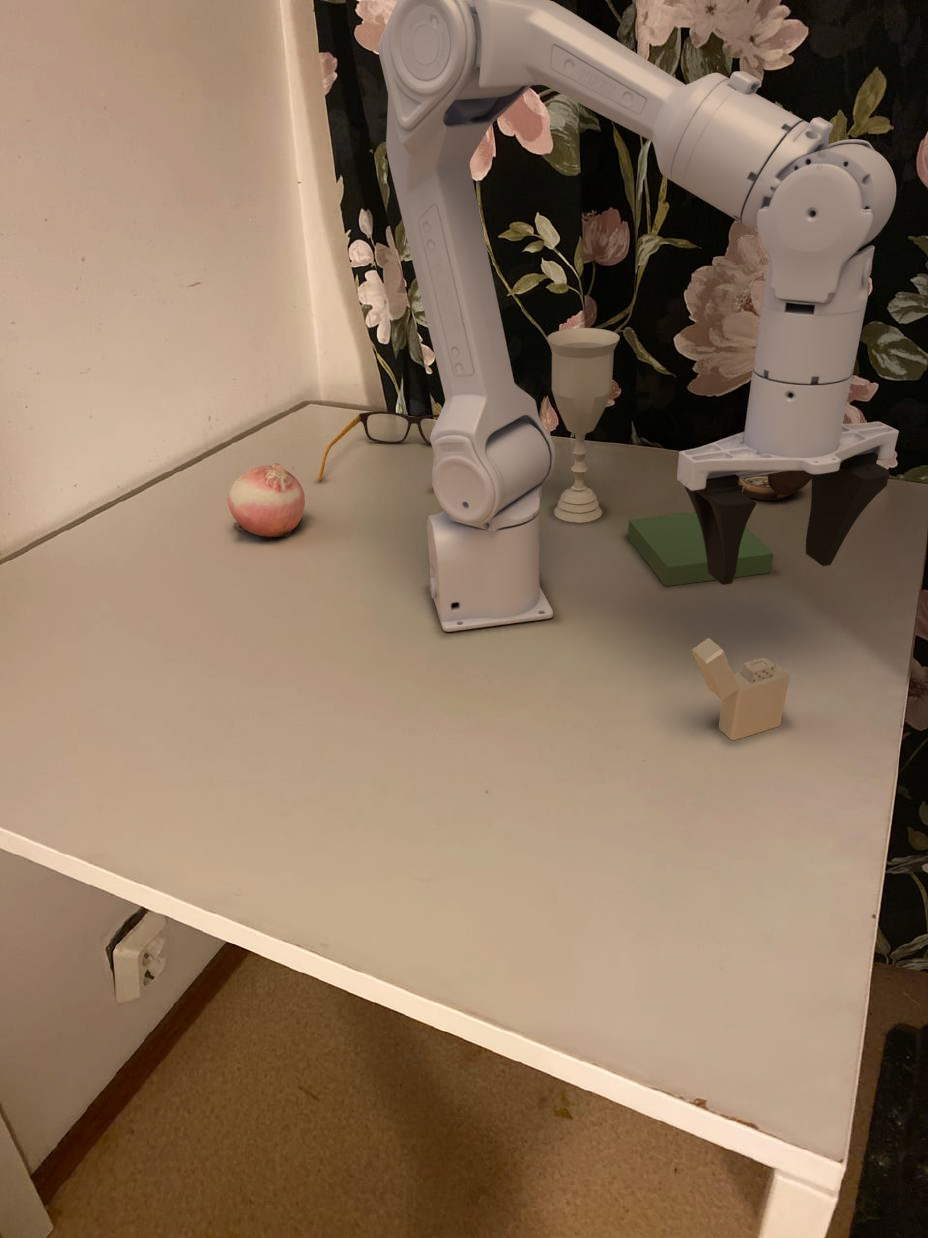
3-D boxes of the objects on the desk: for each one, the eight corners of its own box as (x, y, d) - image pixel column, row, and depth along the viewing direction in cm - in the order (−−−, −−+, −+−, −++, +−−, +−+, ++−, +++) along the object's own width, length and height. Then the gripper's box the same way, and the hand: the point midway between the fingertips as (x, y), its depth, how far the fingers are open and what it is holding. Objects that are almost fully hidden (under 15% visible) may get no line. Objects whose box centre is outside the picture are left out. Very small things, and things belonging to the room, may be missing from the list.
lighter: (766, 711, 62) (783, 615, 57) (782, 725, 60) (800, 628, 56) (680, 737, 60) (691, 640, 55) (694, 752, 58) (707, 654, 54)
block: (665, 586, 77) (667, 566, 76) (627, 537, 85) (628, 519, 84) (770, 572, 78) (773, 553, 77) (723, 526, 87) (725, 507, 86)
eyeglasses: (470, 446, 109) (469, 415, 107) (434, 491, 97) (432, 458, 95) (365, 439, 112) (362, 409, 110) (318, 482, 101) (313, 449, 99)
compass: (765, 474, 97) (774, 411, 93) (816, 500, 91) (829, 433, 87) (707, 489, 94) (714, 424, 91) (756, 516, 88) (766, 448, 84)
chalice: (614, 526, 88) (624, 346, 78) (547, 528, 88) (549, 349, 78) (606, 496, 94) (614, 326, 84) (543, 498, 94) (544, 329, 85)
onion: (282, 553, 86) (270, 486, 82) (217, 542, 88) (202, 477, 85) (322, 519, 92) (312, 455, 88) (260, 511, 95) (248, 448, 91)
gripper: (728, 406, 48) (703, 615, 55) (951, 374, 51) (899, 577, 58) (669, 372, 53) (653, 565, 61) (872, 345, 56) (834, 533, 64)
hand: (769, 568), depth 60 cm, fingers open, 7 cm apart
